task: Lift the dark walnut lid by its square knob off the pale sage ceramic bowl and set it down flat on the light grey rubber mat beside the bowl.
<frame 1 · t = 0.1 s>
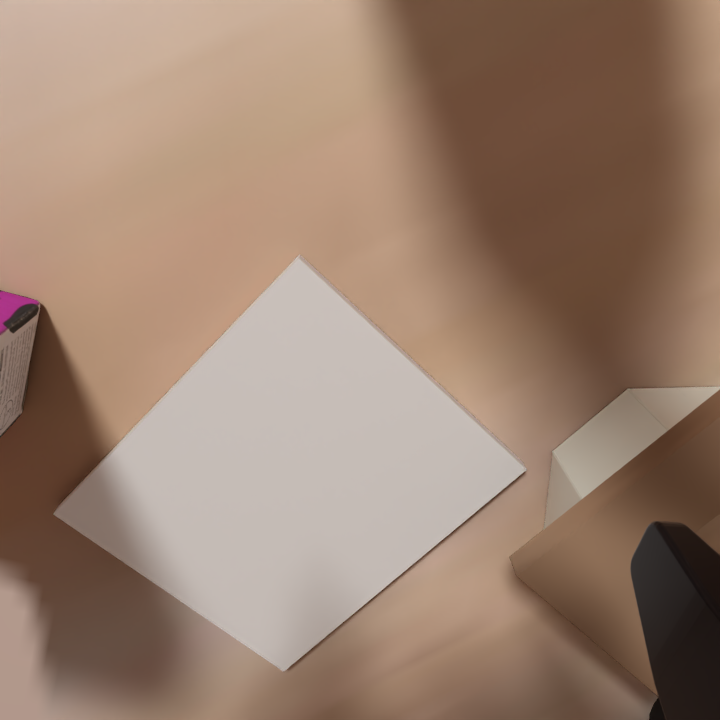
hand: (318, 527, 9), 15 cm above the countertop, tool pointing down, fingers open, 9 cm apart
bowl: (657, 488, 27), on the countertop
lid: (708, 550, 24), point 4 cm above the countertop, touching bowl
mat: (291, 483, 27), on the countertop
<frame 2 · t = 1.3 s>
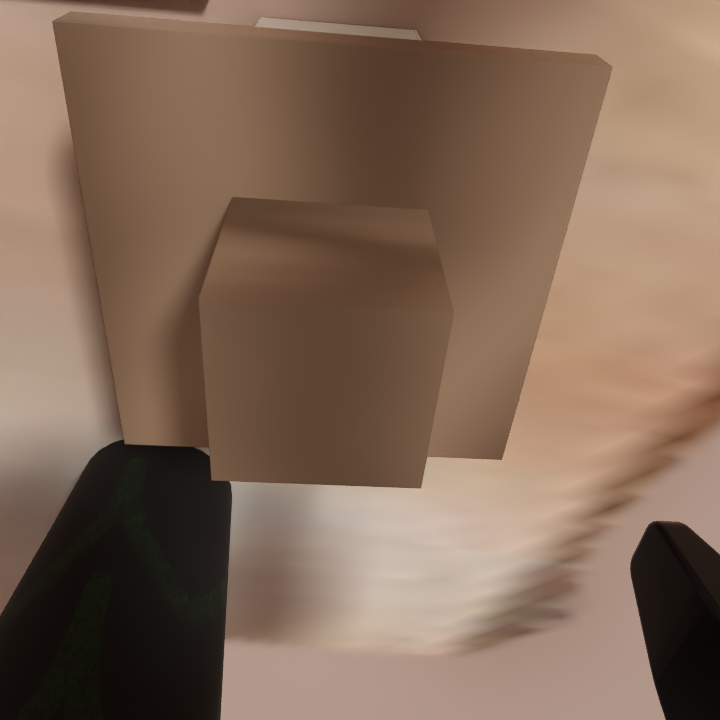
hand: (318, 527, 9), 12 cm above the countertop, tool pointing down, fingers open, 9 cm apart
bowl: (329, 199, 19), on the countertop
lid: (326, 266, 16), point 4 cm above the countertop, touching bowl
cup: (160, 486, 26), on the countertop
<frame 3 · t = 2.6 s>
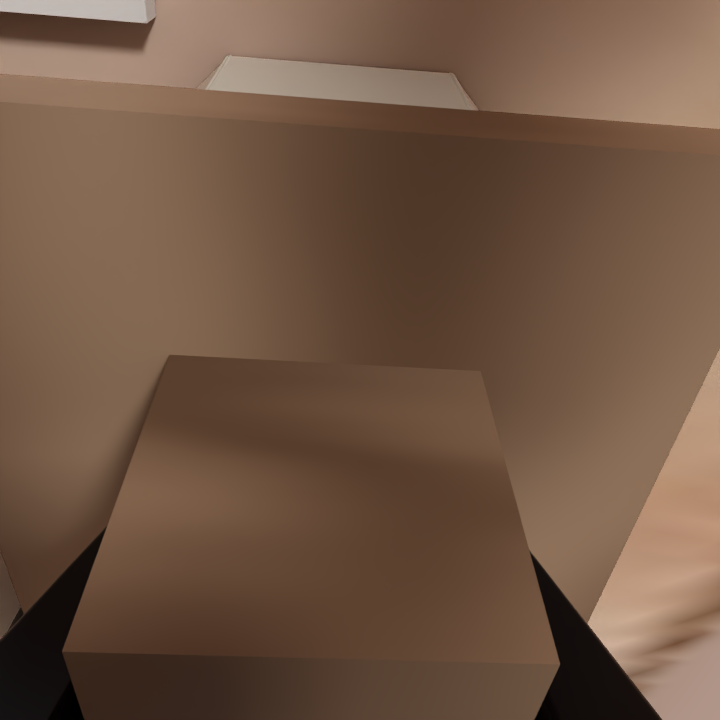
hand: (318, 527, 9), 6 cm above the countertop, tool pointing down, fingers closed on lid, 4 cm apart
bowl: (327, 297, 14), on the countertop
lid: (322, 427, 11), point 4 cm above the countertop, touching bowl, gripper
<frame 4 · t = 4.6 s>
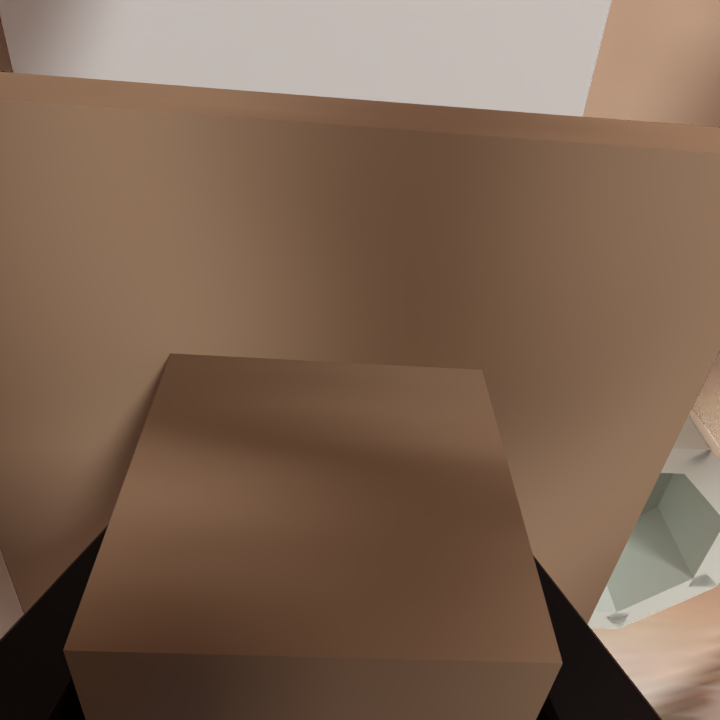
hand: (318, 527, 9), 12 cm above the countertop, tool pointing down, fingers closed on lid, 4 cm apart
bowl: (570, 460, 25), on the countertop
lid: (323, 426, 11), point 10 cm above the countertop, touching gripper
mat: (305, 155, 18), on the countertop
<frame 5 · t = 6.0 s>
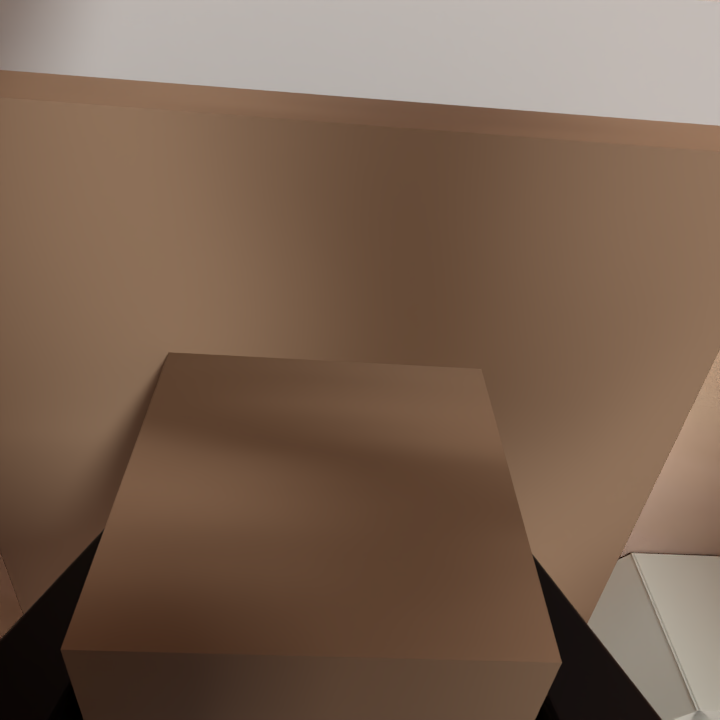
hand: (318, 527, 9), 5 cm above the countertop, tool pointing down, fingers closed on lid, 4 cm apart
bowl: (645, 651, 20), on the countertop
lid: (322, 425, 11), point 3 cm above the countertop, touching gripper
mat: (329, 322, 13), on the countertop
when the fingers open (4 cm above the countertop, at t = 6.8 s): lid drops 2 cm, resting on mat.
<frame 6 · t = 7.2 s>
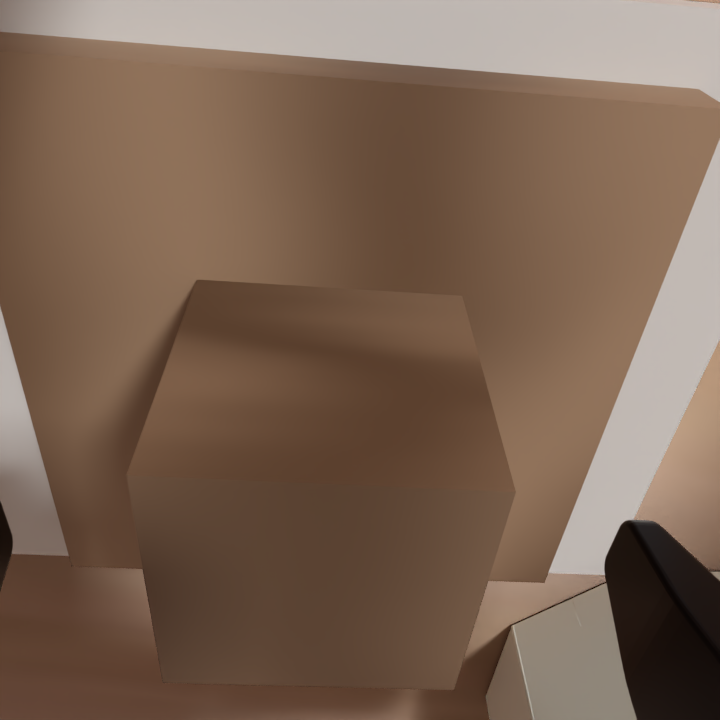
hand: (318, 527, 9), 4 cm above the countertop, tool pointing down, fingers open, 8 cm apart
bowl: (649, 666, 20), on the countertop
lid: (326, 356, 12), point 1 cm above the countertop, touching mat
mat: (327, 337, 13), on the countertop
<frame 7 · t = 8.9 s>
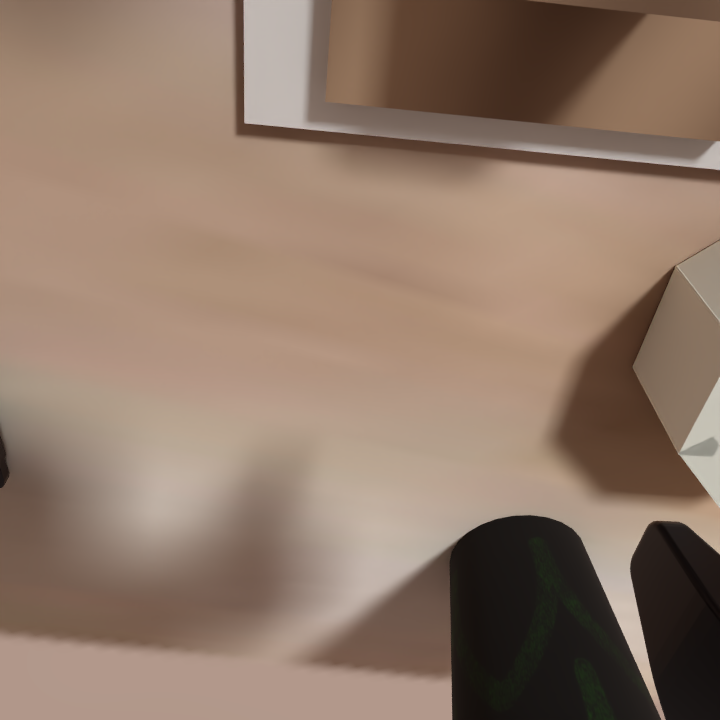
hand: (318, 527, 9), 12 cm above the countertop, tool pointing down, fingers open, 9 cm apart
cup: (515, 555, 28), on the countertop
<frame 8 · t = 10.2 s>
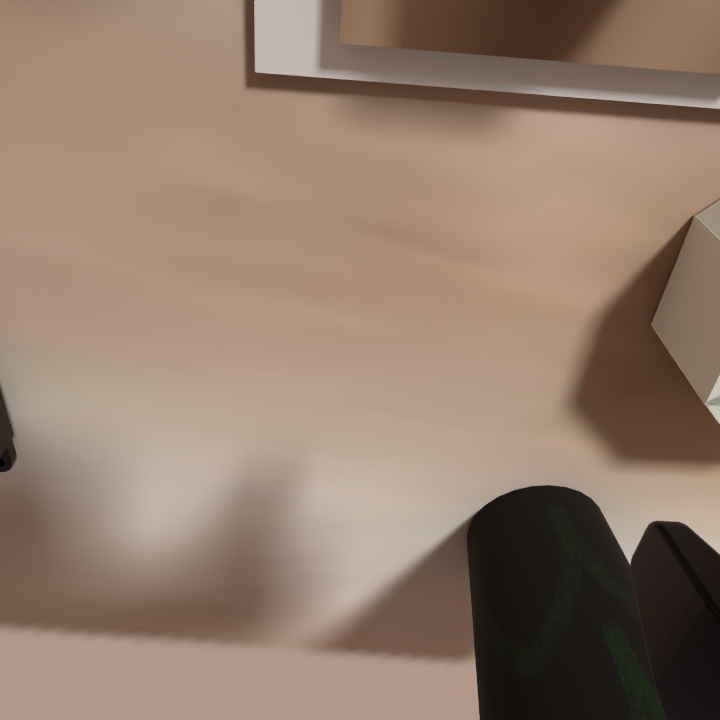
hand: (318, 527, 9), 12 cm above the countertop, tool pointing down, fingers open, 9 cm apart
cup: (533, 528, 28), on the countertop
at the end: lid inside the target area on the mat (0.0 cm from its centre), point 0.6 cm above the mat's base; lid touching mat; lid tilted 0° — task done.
